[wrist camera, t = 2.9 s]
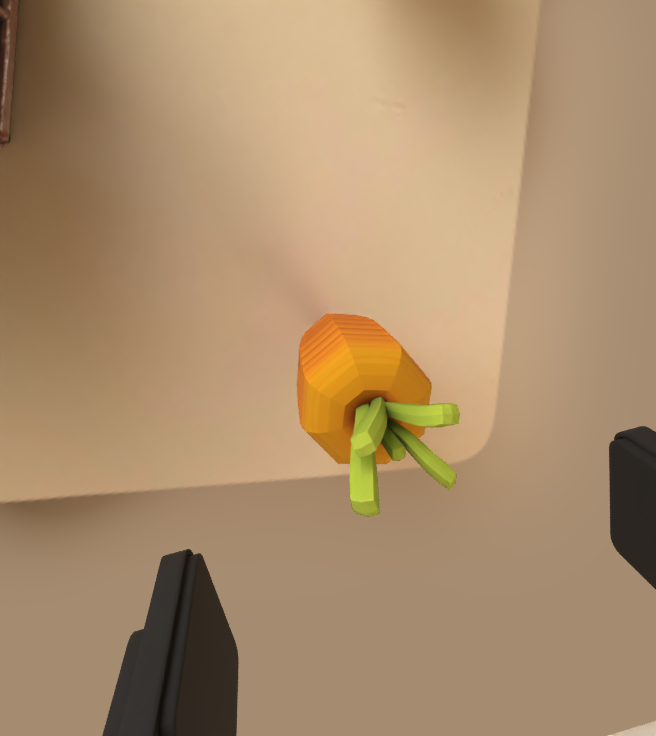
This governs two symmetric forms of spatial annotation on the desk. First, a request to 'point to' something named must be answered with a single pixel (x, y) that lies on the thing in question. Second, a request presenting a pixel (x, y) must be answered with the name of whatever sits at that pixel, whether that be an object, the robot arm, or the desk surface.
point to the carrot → (367, 403)
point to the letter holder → (7, 64)
